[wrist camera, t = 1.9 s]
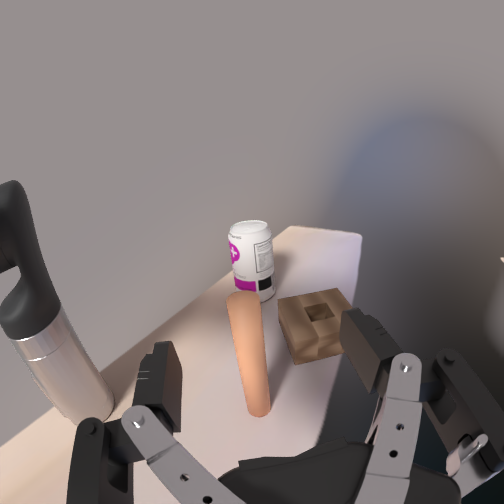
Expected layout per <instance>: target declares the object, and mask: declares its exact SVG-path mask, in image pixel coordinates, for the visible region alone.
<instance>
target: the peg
mask: <svg viewBox="0 0 504 504" xmlns="http://www.w3.org/2000/svg"><path fill="white" fill-rule="evenodd" d="M226 303H227V309H228V314H229V319H230V325H231V330H232V335H233V340H234V345H235V350H236V355H237V360H238V365H239V370H240V375H241V379H242V384H243V389H244V393H245V398H246V402H247V407H248V411H249V413H250V414H251V415H253V416H255V417H263V416H265V415H267V414H268V413H269V412H270V410H271V405H270V394H269V384H268V374H267V364H266V354H265V344H264V334H263V325H262V315H261V305H260V297H259V295H258V294H257V293H255V292H253V291H248V290H244V291H238V292H235V293H233V294H231V295H230V296H229V297H228V298H227V300H226Z"/></svg>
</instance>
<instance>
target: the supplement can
mask: <svg viewBox="0 0 504 504" xmlns="http://www.w3.org/2000/svg"><path fill="white" fill-rule="evenodd" d="M228 238H229V245H230V252H231V259H232V265H233V273H234V279H235V286H236V292H238V291H244V290H248V291H253V292H255V293H257V294H258V295H259V297H260V302H264V301H266V300H268V299H269V298H270V297H272V295H273V294H274V293H275V290H276V288H275V273H274V259H273V245H272V232H271V231H270V229H269V227H268V225H267V223H266V222H263V221H258V220H257V221H256V220H250V221H243V222H239V223H236V224H234V225H232V226H231V230H230V232H229V235H228Z"/></svg>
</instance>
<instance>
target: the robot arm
mask: <svg viewBox="0 0 504 504" xmlns="http://www.w3.org/2000/svg"><path fill="white" fill-rule="evenodd" d="M15 266H18V267H19V269H20V273H21V278H20V280H19V281H18V283H17V285H16V286H15V288H14V289H13V290H12V291H11V292H10V293H9V294H8V296H7V297H6V298H5V299H4V300H3V302H2V304H1V306H0V324H1V327H2V328H3V330H4V332H5V333H6V335H7V337H8V339H9V340H10V342H11V343H12V345H13V347H14V348H15V350H16V351H17V353H18V354H19V356H20V357H21V359H22V360H23V362H24V363H25V365H26V366H27V367H28V369H29V370H30V372H31V373H32V374H31V376H32V379H33V380H34V381H35V383H36V384H37V385H38V387H39V388H40V389H41V390H42V392H43V393H44V394H45V395H46V396H47V398H48V399H49V400H50V401H51V402H52V404H53V405H54V406H55V407H56V408H57V409H58V410H59V411H60V413H61V414H62V415H63V416H64V417H68V418H69V419H70V420H71V421H72V422H73V423H74V424H76V425H78V427H77V431H76V436H75V441H74V446H73V452H72V458H71V465H70V472H69V480H68V490H67V502H66V504H134V498H133V462H137V461H141V460H145V459H146V461H147V464H148V466H149V467H150V468H151V470H152V471H153V472H154V473H155V475H156V476H157V477H158V478H159V480H160V481H161V482H162V483H163V484H164V485H165V487H166V488H167V489H168V490H169V491H170V492H171V493H172V495H173V496H174V497H175V498H176V499H177V500H178V501H179V502H180V503H181V504H461V498H462V497H464V496H465V495H466V494H468V493H469V492H471V491H472V490H473V489H475V488H476V487H478V486H480V485H481V484H482V483H484V482H486V481H487V480H489V479H490V478H491V477H493V476H494V475H496V474H497V473H498V472H500V471H501V470H503V469H504V412H503V411H502V409H501V408H500V406H499V405H498V404H497V402H496V401H495V399H494V398H493V396H492V395H491V394H490V392H489V391H488V390H487V388H486V387H485V386H484V384H483V383H482V382H481V380H480V379H479V378H478V376H477V375H476V374H475V372H474V371H473V370H472V369H471V367H470V366H469V365H468V363H467V362H466V361H465V360H464V359H463V357H462V356H461V355H460V354H459V353H458V352H457V351H456V350H454V349H451V348H444V349H441V350H440V351H439V352H438V353H437V355H436V358H431V359H423V360H419V358H417V357H416V356H415V355H413V354H409V353H404V352H403V351H402V350H401V349H400V347H399V346H398V345H397V344H396V342H395V341H394V340H393V339H392V337H391V336H390V335H389V334H388V333H387V331H386V330H385V329H384V328H383V326H382V325H381V324H380V322H379V321H378V320H377V319H375V318H373V317H372V316H370V315H366V316H365V315H364V314H363V313H362V312H361V311H360V309H359V308H352V309H348V310H344V311H342V314H341V323H340V332H339V340H340V344H341V346H342V348H343V350H344V351H345V353H346V355H347V356H348V358H349V360H350V361H351V363H352V365H353V366H354V368H355V370H356V372H357V374H358V375H359V377H360V379H361V381H362V382H363V384H364V386H365V388H366V389H367V391H368V393H369V394H372V393H375V392H378V393H379V395H380V396H379V398H378V402H377V406H376V410H375V413H374V417H373V421H372V424H371V427H370V430H369V433H368V436H367V438H366V441H365V443H362V442H346V440H345V437H341V438H338V439H335V440H332V441H329V442H326V443H322V444H319V445H317V446H315V447H313V448H311V449H309V450H307V451H306V452H304V453H301V454H299V455H297V456H295V457H261V458H255V459H248V460H241V461H238V462H239V467H237V468H234V469H232V470H230V471H228V472H226V473H225V474H223V475H222V476H221V477H219V478H218V479H216V478H215V477H214V476H213V475H212V474H210V473H209V472H208V471H207V470H206V469H205V468H204V467H203V466H202V465H201V464H200V463H199V462H198V461H197V460H196V459H195V458H194V457H193V456H192V455H191V454H190V453H189V452H188V451H187V450H186V449H185V448H184V447H183V446H182V445H181V444H180V443H179V442H177V441H176V440H175V438H174V437H173V433H174V432H181V398H182V367H181V363H180V361H179V358H178V356H177V353H176V351H175V348H174V346H173V343H172V342H171V341H165V342H156V343H155V344H154V349H153V354H146V356H145V357H144V358H143V360H142V361H141V363H140V368H139V373H138V377H137V379H138V380H137V382H136V387H135V392H134V398H133V403H132V407H130V408H129V409H127V410H126V411H125V412H124V414H123V415H122V418H120V419H117V420H114V421H110V422H106V423H103V421H104V420H106V419H107V417H108V416H109V415H110V413H111V412H112V410H113V407H114V396H113V393H112V391H111V390H110V389H109V387H108V386H107V384H106V383H105V381H104V380H103V378H102V376H101V375H100V373H99V372H98V370H97V369H96V367H95V365H94V364H93V362H92V361H91V359H90V357H89V356H88V354H87V353H86V351H85V349H84V347H83V345H82V343H81V341H80V340H79V338H78V336H77V334H76V332H75V331H74V328H73V326H72V325H71V323H70V321H69V319H68V317H67V315H66V313H65V311H64V308H63V306H62V304H61V302H60V300H59V298H58V296H57V294H56V291H55V289H54V286H53V284H52V281H51V279H50V277H49V274H48V271H47V268H46V266H45V263H44V260H43V257H42V254H41V251H40V247H39V243H38V239H37V235H36V232H35V227H34V223H33V218H32V214H31V210H30V206H29V202H28V199H27V195H26V193H25V191H24V188H23V187H22V185H21V184H20V183H19V182H18V181H15V180H12V181H9V182H6V183H3V184H1V185H0V273H2V272H4V271H6V270H8V269H11V268H13V267H15ZM447 390H448V391H447ZM449 393H450V394H449ZM451 396H452V397H451ZM452 398H453V399H454V400H453V399H452ZM454 401H455V402H454ZM422 406H423V407H424V409H425V411H426V412H427V414H428V416H429V418H430V420H431V421H432V423H433V425H434V427H435V429H436V430H437V432H438V434H439V436H440V438H441V440H442V442H443V443H444V445H445V447H446V449H447V451H448V453H449V455H448V457H447V462H446V463H447V466H446V470H447V471H448V475H445V474H443V473H440V472H437V471H434V470H431V469H428V468H426V467H423V466H420V465H417V464H415V463H413V462H412V461H413V457H414V452H415V447H416V442H417V437H418V431H419V425H420V418H421V410H422Z"/></svg>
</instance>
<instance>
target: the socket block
mask: <svg viewBox="0 0 504 504" xmlns="http://www.w3.org/2000/svg"><path fill="white" fill-rule="evenodd" d="M348 309H352V307H351V305H350V304H349V303H348V301H347V300H346V299H345V297H344V296H343V295H342V294H341V292H340V291H339V290H338V288H334V289H329V290H324V291H319V292H314V293H309V294H304V295H299V296H293V297H288V298H282V299H278V313H279V323H280V326H281V329H282V331H283V334H284V337H285V339H286V342H287V345H288V348H289V350H290V353H291V356H292V358H293V361H294V364H295V365H298V364H303V363H307V362H311V361H315V360H319V359H323V358H327V357H331V356H335V355H338V354H342V353H345V351H344V350H343V348H342V346H341V344H340V340H339V332H340V323H341V314H342V311H344V310H348Z"/></svg>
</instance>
